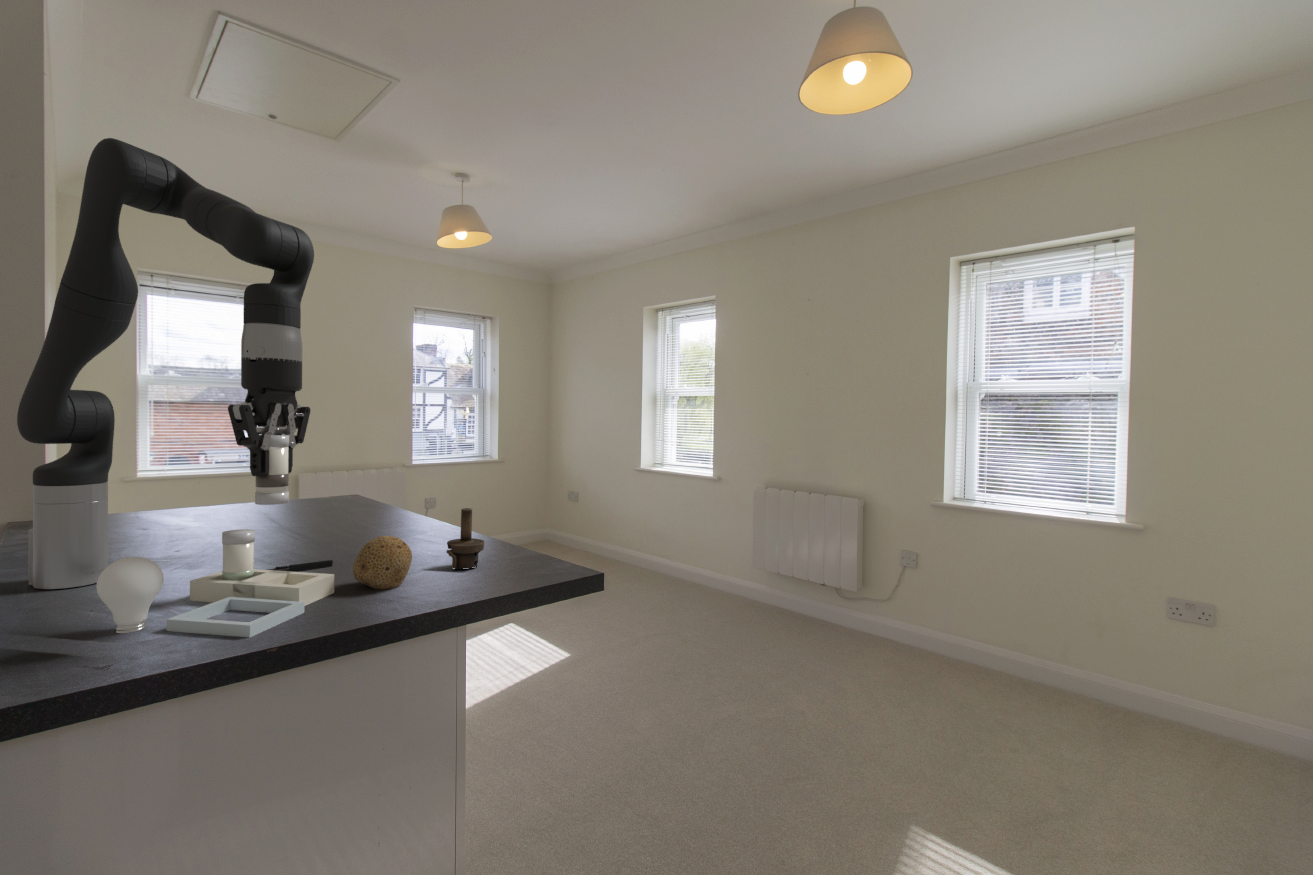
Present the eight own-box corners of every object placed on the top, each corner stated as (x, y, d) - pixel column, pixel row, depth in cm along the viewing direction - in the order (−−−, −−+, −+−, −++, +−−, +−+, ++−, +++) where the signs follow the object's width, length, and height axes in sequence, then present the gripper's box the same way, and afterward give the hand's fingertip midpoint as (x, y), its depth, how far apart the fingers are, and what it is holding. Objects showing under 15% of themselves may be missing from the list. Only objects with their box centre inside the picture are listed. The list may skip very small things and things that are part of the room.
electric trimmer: (335, 577, 112) (335, 560, 112) (236, 591, 101) (236, 573, 101) (329, 573, 114) (329, 557, 114) (231, 586, 104) (232, 568, 103)
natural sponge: (352, 604, 95) (353, 542, 95) (352, 589, 103) (353, 532, 103) (413, 598, 99) (414, 539, 99) (408, 584, 107) (409, 529, 107)
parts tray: (166, 641, 78) (166, 619, 78) (229, 616, 88) (229, 596, 88) (249, 648, 77) (250, 625, 77) (304, 622, 87) (304, 601, 86)
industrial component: (448, 573, 115) (449, 512, 115) (442, 565, 121) (443, 507, 121) (496, 569, 120) (498, 510, 119) (488, 561, 126) (489, 504, 125)
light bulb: (124, 630, 81) (124, 551, 81) (175, 630, 82) (176, 551, 81) (81, 649, 75) (81, 563, 74) (137, 649, 75) (138, 563, 75)
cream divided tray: (189, 609, 90) (189, 580, 90) (233, 594, 98) (233, 567, 98) (298, 617, 88) (299, 588, 88) (334, 601, 96) (334, 574, 96)
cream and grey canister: (247, 504, 86) (248, 435, 85) (269, 500, 90) (269, 434, 89) (275, 505, 85) (275, 435, 85) (295, 501, 89) (295, 435, 89)
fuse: (214, 597, 92) (215, 533, 92) (236, 589, 96) (237, 528, 96) (239, 599, 91) (240, 534, 91) (260, 591, 96) (261, 529, 95)
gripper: (283, 362, 94) (282, 469, 95) (207, 351, 80) (207, 478, 81) (328, 363, 94) (327, 471, 94) (259, 352, 79) (259, 480, 80)
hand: (271, 473), depth 87 cm, fingers closed on cream and grey canister, 4 cm apart
